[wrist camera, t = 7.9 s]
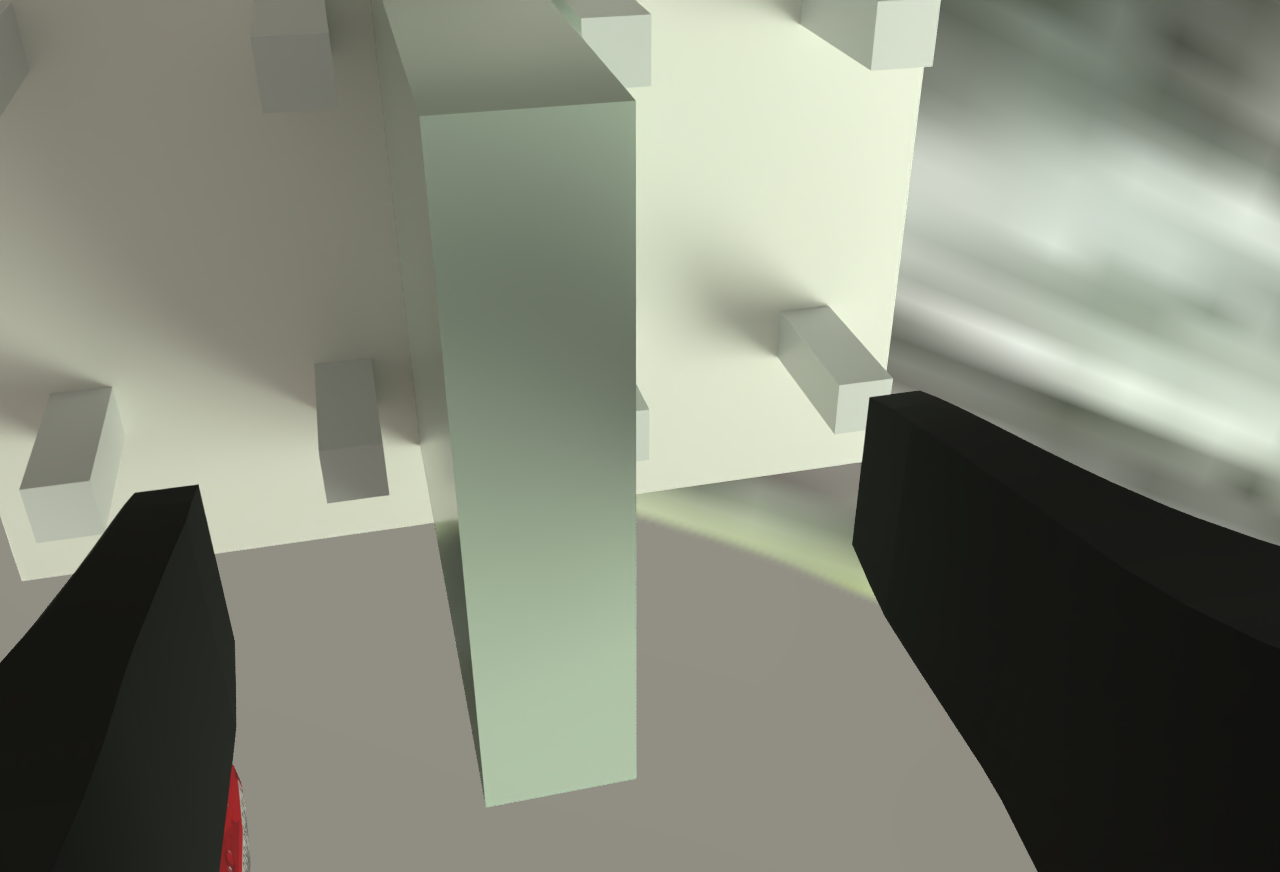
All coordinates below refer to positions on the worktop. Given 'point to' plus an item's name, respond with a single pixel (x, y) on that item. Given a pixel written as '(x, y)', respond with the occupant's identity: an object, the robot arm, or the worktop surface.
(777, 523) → the worktop surface
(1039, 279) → the worktop surface
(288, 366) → the rack
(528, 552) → the pale green tall block
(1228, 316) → the worktop surface
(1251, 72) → the worktop surface
